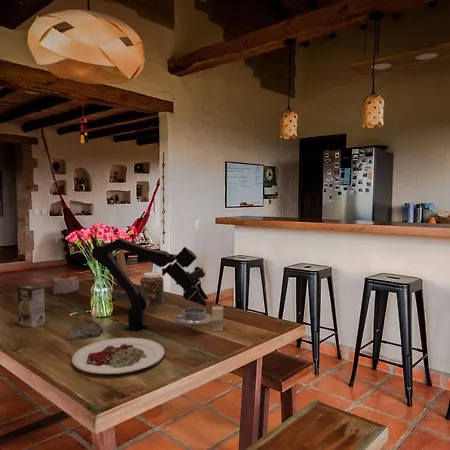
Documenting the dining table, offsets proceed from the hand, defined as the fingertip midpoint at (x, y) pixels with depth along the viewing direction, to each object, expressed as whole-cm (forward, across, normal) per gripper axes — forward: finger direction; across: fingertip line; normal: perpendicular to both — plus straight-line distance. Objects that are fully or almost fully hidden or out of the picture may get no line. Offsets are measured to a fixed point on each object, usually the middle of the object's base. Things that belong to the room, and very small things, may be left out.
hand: (206, 302), depth 167 cm
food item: (-50, +60, +66) cm, 102 cm away
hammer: (-24, +49, +40) cm, 67 cm away
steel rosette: (+4, +12, +12) cm, 18 cm away
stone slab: (-26, -5, +43) cm, 50 cm away
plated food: (-12, -31, +28) cm, 43 cm away
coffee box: (-45, +4, +60) cm, 75 cm away
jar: (-13, +39, +29) cm, 50 cm away
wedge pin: (+11, 0, +5) cm, 12 cm away
